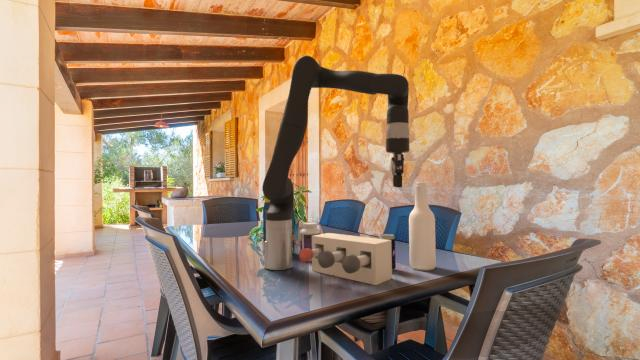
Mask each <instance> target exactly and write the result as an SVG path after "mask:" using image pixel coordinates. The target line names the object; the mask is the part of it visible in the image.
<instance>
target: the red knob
mask: <svg viewBox="0 0 640 360" xmlns="http://www.w3.org/2000/svg"><path fill="white" fill-rule="evenodd" d="M322 251H324V248H323V247H321V248H317V249H312V250H311V249H310V248H305V249H301V250H299V252H298V257H299V259H300V261H302V263H303V262H310V261H309V260H311V259H312V257H315V256H318V255H319V253H320V252H322Z"/></svg>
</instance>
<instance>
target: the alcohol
mask: <svg viewBox="0 0 640 360" xmlns="http://www.w3.org/2000/svg"><path fill="white" fill-rule="evenodd" d="M414 184H415V192H414V193H415V195H414V207H413V209H412V210H411V211H410V212H409V217H408V244H409V245H408V247H409V248H408V250H409V256H408V258H409V259H408V260H409V266H410V267H411V269H412V270H416V271H422V272H424V271H432V270H434V269H435V268H436V266H437V265H436V264H437V262H436V261H437V259H436V255H437V254H436V217H435V214H434V212H433V211H432V210H431V209H430V205H429V198H428V197H429V196H428V185H427V184H428V182H425V181H423V182H422V181H416V182H415V183H414Z"/></svg>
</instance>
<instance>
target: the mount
mask: <svg viewBox="0 0 640 360" xmlns="http://www.w3.org/2000/svg"><path fill="white" fill-rule="evenodd" d="M321 247H323V248H324V251H327V250H328V251H330V252H332V253H333V252H337V251H341V250H343V251H345V252H346V256H348V255H355V256H357V257H358V256H361V255H365V254H368V255H370V257H371V263H370V264H367V265H364V266H361V267H360V268H359V270H358V271H357V272H354V273H351V274H349V273H347V272H345V270H344V269H343V267H342V260H341V261H337V262H334V264H333V266H331V267H328V268H322V267H321V266H320V265H319V262H318V256H315V257H312V261H311V270H312V271H313V272H315V273H316V272H317V273H321V274H324V275H329V276H333V275H334V276H333V277H338V278H343V279H347V280H351V281H356V282H359V283H360V282H361V283H364V284H369V285H374V286H378V285H380V284H383V283H385V282H387V281H390V280H392V279H393V271H392V248H391V240H386V239H378V238H377V237H376V238H375V237H367V236H359V235H349V234H342V233H341V234H340V233H332V232H326V233H320V234H319V235H314V236H312V249H317V248H321Z"/></svg>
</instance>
